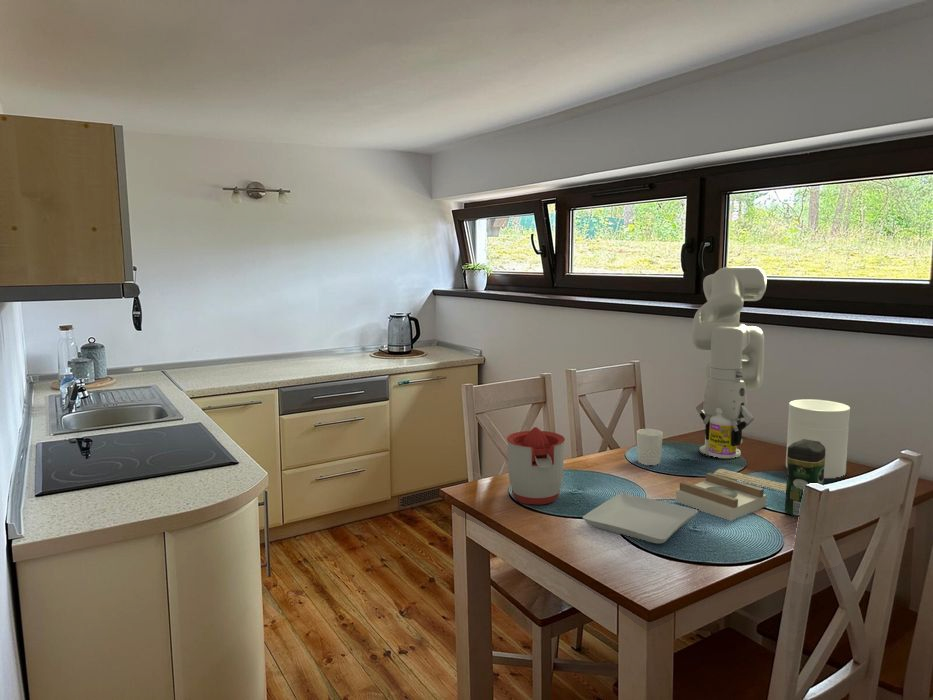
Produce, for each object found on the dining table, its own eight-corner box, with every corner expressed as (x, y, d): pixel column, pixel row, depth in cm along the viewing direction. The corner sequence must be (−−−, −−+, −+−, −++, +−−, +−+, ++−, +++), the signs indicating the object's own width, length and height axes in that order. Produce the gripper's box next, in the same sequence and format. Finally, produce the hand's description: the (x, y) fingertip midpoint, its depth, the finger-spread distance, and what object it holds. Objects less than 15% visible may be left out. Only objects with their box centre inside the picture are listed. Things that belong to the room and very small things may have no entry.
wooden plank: (713, 477, 189) (713, 471, 189) (724, 472, 194) (724, 466, 194) (796, 498, 172) (796, 492, 172) (806, 491, 177) (806, 485, 177)
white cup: (665, 466, 198) (665, 435, 197) (639, 466, 198) (640, 435, 197) (657, 458, 206) (658, 428, 205) (633, 458, 206) (634, 428, 205)
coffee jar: (792, 503, 166) (796, 435, 164) (825, 511, 161) (830, 440, 158) (779, 514, 160) (783, 443, 157) (814, 523, 154) (818, 449, 152)
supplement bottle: (704, 455, 165) (705, 407, 163) (714, 449, 170) (716, 403, 168) (730, 460, 161) (732, 411, 159) (739, 454, 165) (741, 406, 164)
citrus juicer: (515, 513, 163) (515, 438, 161) (502, 490, 180) (501, 421, 178) (574, 509, 166) (574, 434, 163) (555, 486, 183) (555, 418, 180)
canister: (857, 472, 189) (862, 407, 186) (822, 481, 182) (826, 413, 179) (808, 458, 203) (811, 397, 201) (774, 466, 196) (777, 403, 194)
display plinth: (711, 488, 178) (712, 471, 177) (766, 506, 165) (767, 487, 164) (675, 501, 169) (676, 483, 168) (730, 521, 156) (730, 501, 155)
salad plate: (580, 529, 154) (580, 515, 154) (620, 503, 170) (620, 490, 170) (664, 553, 140) (664, 539, 140) (699, 522, 156) (699, 509, 156)
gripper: (765, 377, 157) (762, 446, 160) (704, 368, 172) (702, 432, 174) (748, 380, 153) (745, 452, 156) (687, 371, 167) (685, 437, 170)
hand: (722, 441), depth 165 cm, fingers closed on supplement bottle, 6 cm apart
